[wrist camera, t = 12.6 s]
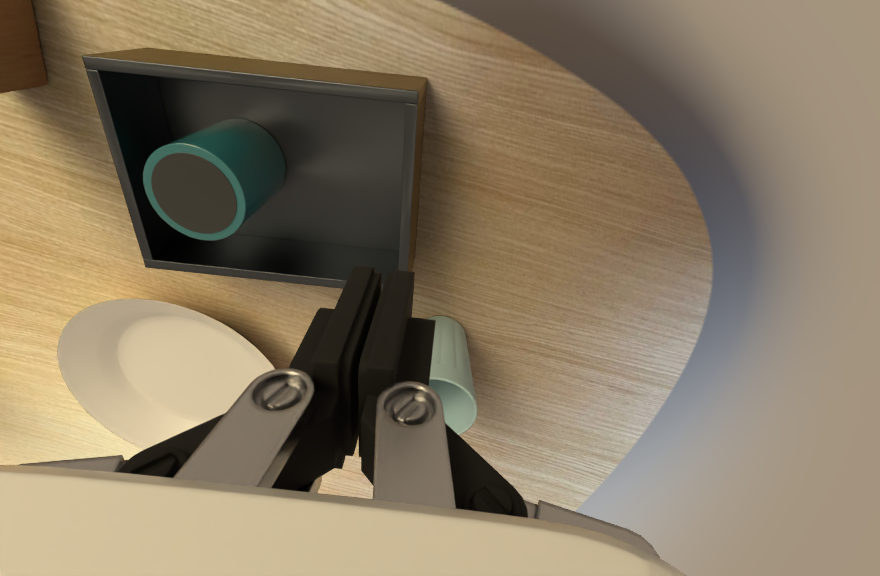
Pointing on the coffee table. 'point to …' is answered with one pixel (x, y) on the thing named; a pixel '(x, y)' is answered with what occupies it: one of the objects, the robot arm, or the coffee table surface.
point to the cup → (453, 374)
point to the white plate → (154, 367)
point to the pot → (214, 178)
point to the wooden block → (19, 47)
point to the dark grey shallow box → (305, 153)
